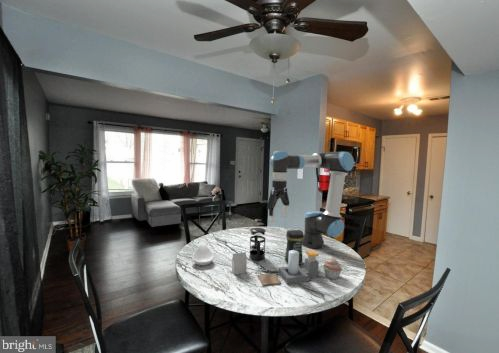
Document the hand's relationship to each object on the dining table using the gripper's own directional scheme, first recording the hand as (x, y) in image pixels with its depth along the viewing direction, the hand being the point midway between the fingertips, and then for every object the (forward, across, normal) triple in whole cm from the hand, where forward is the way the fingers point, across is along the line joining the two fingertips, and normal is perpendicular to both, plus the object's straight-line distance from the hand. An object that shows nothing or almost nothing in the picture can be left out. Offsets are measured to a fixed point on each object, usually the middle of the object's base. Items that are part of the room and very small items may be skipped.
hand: (278, 219), depth 125 cm
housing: (+26, +3, +15) cm, 30 cm away
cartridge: (+26, +6, +12) cm, 29 cm away
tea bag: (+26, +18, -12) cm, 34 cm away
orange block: (+20, -2, +19) cm, 28 cm away
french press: (+26, -2, -15) cm, 30 cm away
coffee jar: (+26, -10, +5) cm, 29 cm away
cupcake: (+26, -8, +27) cm, 39 cm away
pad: (+26, +16, +5) cm, 31 cm away
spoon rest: (+26, +20, -38) cm, 50 cm away
